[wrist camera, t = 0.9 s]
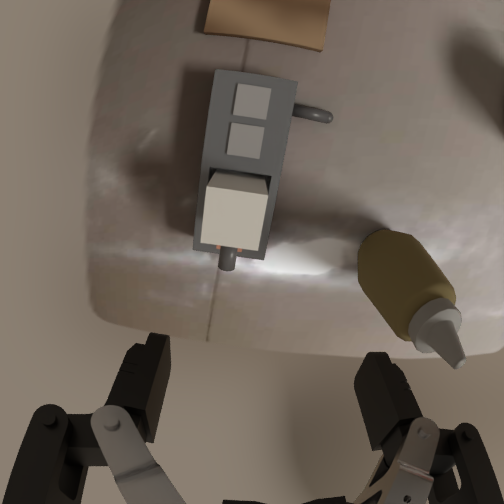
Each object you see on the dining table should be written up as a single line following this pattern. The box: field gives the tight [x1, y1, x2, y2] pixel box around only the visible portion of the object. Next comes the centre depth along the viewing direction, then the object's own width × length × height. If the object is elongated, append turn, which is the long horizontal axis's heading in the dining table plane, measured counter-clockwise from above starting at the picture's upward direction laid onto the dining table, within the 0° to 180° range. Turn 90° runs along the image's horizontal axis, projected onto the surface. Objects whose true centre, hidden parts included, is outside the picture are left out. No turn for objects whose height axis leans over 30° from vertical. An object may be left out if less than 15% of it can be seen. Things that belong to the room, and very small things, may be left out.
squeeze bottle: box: [358, 229, 466, 369], centre depth 25 cm, size 8×8×18 cm
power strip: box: [193, 69, 333, 260], centre depth 27 cm, size 17×11×4 cm, turn 171°
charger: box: [200, 169, 268, 271], centre depth 26 cm, size 7×4×7 cm, turn 171°
